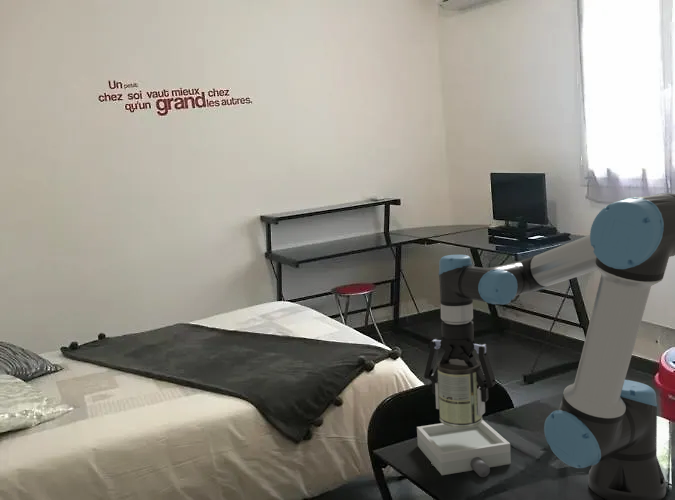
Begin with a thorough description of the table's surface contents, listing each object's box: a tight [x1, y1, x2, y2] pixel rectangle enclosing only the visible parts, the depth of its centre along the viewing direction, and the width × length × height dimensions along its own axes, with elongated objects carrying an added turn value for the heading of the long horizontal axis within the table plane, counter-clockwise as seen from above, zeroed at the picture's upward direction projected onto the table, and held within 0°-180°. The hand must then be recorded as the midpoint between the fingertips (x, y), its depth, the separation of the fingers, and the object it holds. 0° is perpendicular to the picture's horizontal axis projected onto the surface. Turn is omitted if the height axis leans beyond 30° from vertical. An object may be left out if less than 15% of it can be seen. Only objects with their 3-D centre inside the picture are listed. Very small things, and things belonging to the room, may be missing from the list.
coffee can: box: [436, 358, 483, 428], centre depth 166 cm, size 10×10×14 cm
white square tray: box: [416, 419, 512, 478], centre depth 166 cm, size 21×17×5 cm
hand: (460, 410), depth 167 cm, fingers closed on coffee can, 10 cm apart
